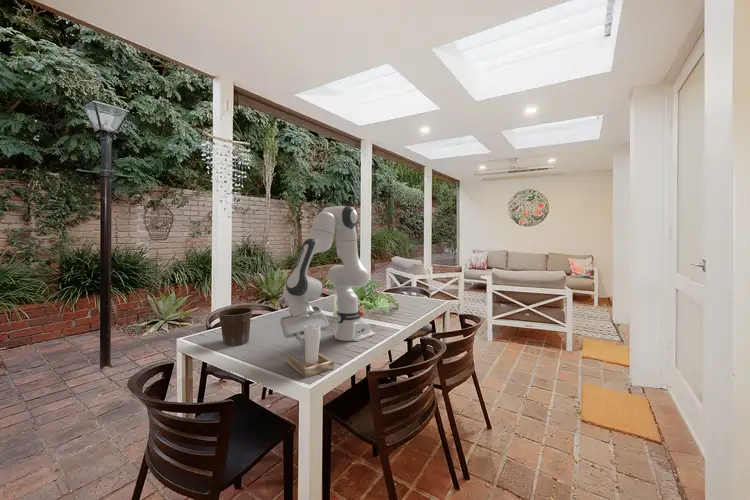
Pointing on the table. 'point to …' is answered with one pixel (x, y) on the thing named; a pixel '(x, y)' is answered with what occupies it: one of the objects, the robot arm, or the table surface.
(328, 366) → the guide channel
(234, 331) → the plant pot
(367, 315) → the table surface
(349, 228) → the robot arm
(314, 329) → the white cup
